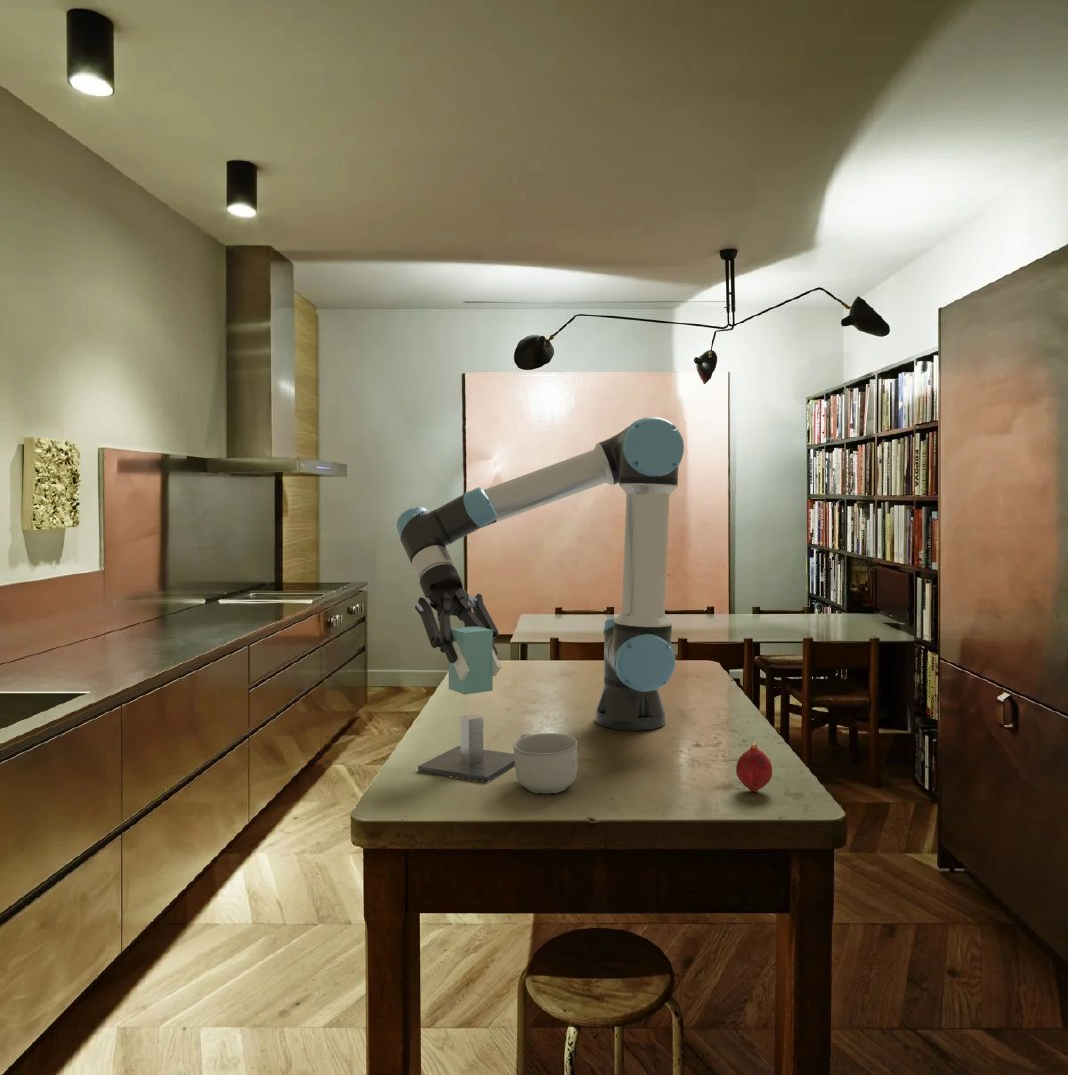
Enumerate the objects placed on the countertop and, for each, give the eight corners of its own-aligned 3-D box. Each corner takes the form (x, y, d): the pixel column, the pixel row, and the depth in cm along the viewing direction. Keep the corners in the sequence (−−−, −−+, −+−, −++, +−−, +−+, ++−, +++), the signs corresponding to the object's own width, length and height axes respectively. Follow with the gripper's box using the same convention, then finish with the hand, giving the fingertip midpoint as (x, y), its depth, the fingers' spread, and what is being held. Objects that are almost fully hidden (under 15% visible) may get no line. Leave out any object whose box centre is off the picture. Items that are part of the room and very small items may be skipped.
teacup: (586, 795, 137) (587, 747, 137) (522, 802, 134) (522, 752, 134) (560, 770, 151) (560, 725, 150) (501, 775, 148) (501, 730, 147)
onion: (777, 797, 136) (778, 748, 136) (742, 798, 136) (743, 749, 136) (764, 785, 142) (765, 738, 142) (731, 786, 142) (731, 739, 142)
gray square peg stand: (523, 760, 156) (523, 712, 156) (487, 782, 144) (487, 730, 143) (458, 751, 162) (458, 704, 162) (418, 771, 149) (417, 721, 149)
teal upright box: (476, 684, 156) (476, 626, 156) (492, 690, 152) (492, 630, 151) (448, 688, 153) (448, 628, 153) (464, 694, 148) (464, 632, 148)
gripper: (472, 585, 170) (517, 679, 157) (386, 590, 159) (426, 692, 146) (486, 560, 165) (533, 655, 152) (398, 564, 154) (441, 666, 142)
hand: (481, 673), depth 149 cm, fingers closed on teal upright box, 6 cm apart
